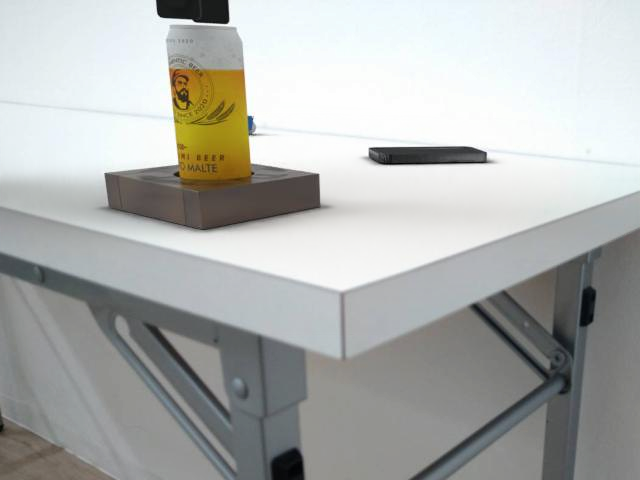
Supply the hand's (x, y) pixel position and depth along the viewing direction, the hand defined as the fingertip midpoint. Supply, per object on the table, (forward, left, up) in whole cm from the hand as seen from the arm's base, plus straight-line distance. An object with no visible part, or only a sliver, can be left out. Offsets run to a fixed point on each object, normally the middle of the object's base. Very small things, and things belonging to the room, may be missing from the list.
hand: (196, 21), depth 61 cm
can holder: (0, 0, -15) cm, 15 cm away
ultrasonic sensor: (-11, +62, -16) cm, 65 cm away
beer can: (+1, 0, -16) cm, 16 cm away
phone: (+20, +35, -15) cm, 43 cm away
